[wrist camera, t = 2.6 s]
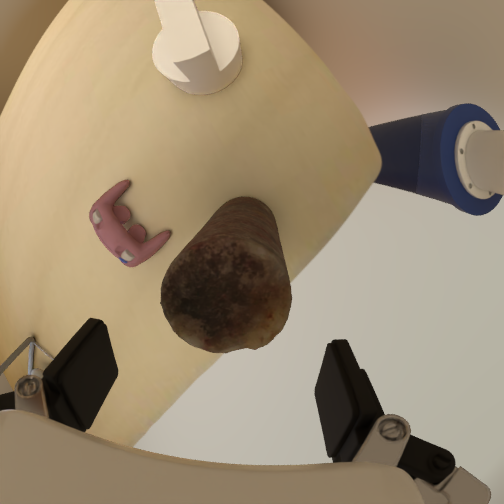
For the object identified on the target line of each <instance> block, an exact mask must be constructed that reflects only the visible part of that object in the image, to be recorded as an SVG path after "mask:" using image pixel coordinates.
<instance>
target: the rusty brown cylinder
mask: <svg viewBox="0 0 504 504" xmlns="http://www.w3.org/2000/svg"><path fill="white" fill-rule="evenodd" d="M291 302H292V294H291V285H290V280H289V276H288V271H287V267H286V263H285V259H284V255H283V250H282V246H281V242H280V239H279V233H278V228H277V225H276V221H275V218H274V215H273V214H272V212H271V210H270V209H269V208H268V207H267V206H266V205H265V204H264V203H263V202H261V201H259V200H257V199H254V198H251V197H238V198H235V199H232V200H230V201H228V202H226V203H225V204H224V205H222V206H221V207H220V208H219V209H218V210H217V211H216V212H215V214H214V215H213V216H212V217H211V218H210V220H209V221H208V222H207V223H206V224H205V226H204V227H203V228H202V229H201V230H200V231H199V232H198V233H197V235H196V236H195V237H194V238H193V239H192V240H191V241H190V242H189V243H188V244H187V245H186V247H185V248H184V249H183V250H182V251H181V252H180V253H179V255H178V256H177V257H176V258H175V259H174V260H173V262H172V263H171V265H170V266H169V268H168V270H167V272H166V274H165V277H164V279H163V282H162V286H161V302H160V304H161V306H162V308H163V312H164V315H165V317H166V319H167V320H168V322H169V324H170V325H171V327H172V329H173V331H174V332H175V333H176V334H177V335H178V336H179V337H180V338H181V339H183V340H184V341H185V342H187V343H188V344H190V345H192V346H194V347H196V348H201V349H203V350H206V351H209V352H212V353H228V352H231V351H235V350H239V349H244V348H249V349H254V350H256V349H258V348H260V347H263V346H265V345H267V344H268V343H269V342H271V341H272V340H273V339H274V337H275V336H276V335H277V334H279V333H280V332H281V331H282V329H283V327H284V325H285V323H286V321H287V319H288V315H289V311H290V308H291Z"/></svg>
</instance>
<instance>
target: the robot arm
mask: <svg viewBox="0 0 504 504" xmlns="http://www.w3.org/2000/svg"><path fill="white" fill-rule="evenodd" d="M454 153H455V165H456V170H457V174H458V177H459V179H460V182H461V183H462V185H463V187H464V188H465V190H466V191H467V192H468V193H469V194H470V195H472V196H474V197H476V198H479V199H487V198H490V197H491V196H493V195H494V194H495V193H498V194H501V195H504V130H492V129H491V128H490V127H489V126H488V125H486V124H485V123H483V122H481V121H470V122H468V123H466V124H464V125H463V126H462V128H461V129H460V131H459V133H458V135H457V138H456V142H455V151H454ZM42 374H43V378H42V379H41V378H40V377H38V376H36V375H26V376H23V377H22V378H20V379H19V380H18V381H17V383H16V384H15V391H13V392H9V393H5V394H2V395H0V504H488V503H489V501H490V498H491V491H490V489H489V488H488V487H487V485H485V484H484V483H482V482H481V481H480V480H478V479H477V478H476V477H474V476H473V475H472V474H470V473H469V472H468V471H466V470H465V469H464V468H462V467H461V466H460V467H459V468H457V467H456V466H455V459H454V456H453V455H452V454H451V453H450V452H449V451H448V450H446V449H443V448H441V447H438V446H436V445H433V444H431V443H429V442H426V441H424V440H422V439H419V438H417V437H415V436H412V435H410V433H411V429H410V425H409V423H408V422H407V421H406V420H405V419H404V418H402V417H400V416H398V415H394V414H387V415H385V414H384V412H383V410H382V407H381V405H380V402H379V400H378V398H377V396H376V393H375V391H374V389H373V386H372V384H371V382H370V380H369V378H368V375H367V373H366V372H365V370H364V369H360V367H359V365H358V363H357V361H356V358H355V356H354V354H353V352H352V350H351V347H350V345H349V343H348V341H347V340H346V339H344V340H343V339H341V340H333V341H332V342H331V343H328V344H327V347H326V351H325V355H324V358H323V363H322V366H321V369H320V373H319V376H318V380H317V383H316V386H315V399H316V403H317V407H318V412H319V417H320V422H321V426H322V431H323V435H324V440H325V446H326V451H327V455H328V457H329V458H330V457H332V460H333V463H322V464H308V465H241V464H226V463H216V462H206V461H198V460H191V459H185V458H179V457H173V456H168V455H163V454H158V453H153V452H149V451H145V450H141V449H137V448H133V447H129V446H125V445H122V444H118V443H115V442H112V441H108V440H105V439H102V438H99V437H96V436H93V435H90V434H88V433H85V431H86V429H89V428H90V427H91V425H92V423H93V421H94V419H95V417H96V416H97V414H98V412H99V410H100V408H101V406H102V404H103V402H104V400H105V398H106V396H107V395H108V393H109V391H110V389H111V387H112V385H113V384H114V382H115V380H116V378H117V376H118V367H117V364H116V360H115V357H114V353H113V349H112V346H111V342H110V338H109V334H108V329H107V326H106V324H104V322H103V321H102V320H99V319H94V318H89V319H88V320H87V321H86V323H85V324H84V325H83V326H82V327H81V328H80V329H79V330H78V332H77V333H76V334H75V335H74V336H73V337H72V338H71V340H70V341H69V342H68V343H67V344H66V345H65V346H64V348H63V349H62V350H61V351H60V352H59V354H58V355H57V356H56V357H55V358H54V360H53V361H52V362H51V363H50V364H49V366H48V367H47V368H46V369H45V371H44V372H43V373H42Z"/></svg>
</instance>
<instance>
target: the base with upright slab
mask: <svg viewBox="0 0 504 504" xmlns="http://www.w3.org/2000/svg"><path fill="white" fill-rule="evenodd" d="M154 1H155V4H156V7H157V11H158V14H159V18H160V21H161V24H162V28H163V29H162V30H161V31H160V32H159V34H158V35H157V37H156V39H155V41H154V45H153V49H152V56H153V62H154V64H155V66H156V68H157V69H158V70H159V71H160V72H161V73H162V74H163V75H164V76H165V77H166V78H167V79H169V80H170V81H171V82H172V83H173V84H175V85H176V86H177V87H178V88H179V89H181V90H183V91H185V92H186V93H190V94H194V95H207V94H212V93H216V92H218V91H220V90H222V89H224V88H226V87H227V86H228V85H230V84H231V83H232V82H233V81H234V80H235V78H236V77H237V76H238V74H239V72H240V70H241V67H242V60H243V58H242V52H241V46H240V40H239V35H238V30H237V29H236V27H235V25H234V24H233V22H232V21H230V20H229V19H228V18H227V17H225V16H223V15H221V14H219V13H216V12H210V11H198V9H197V7H196V5H195V3H194V0H154Z"/></svg>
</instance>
